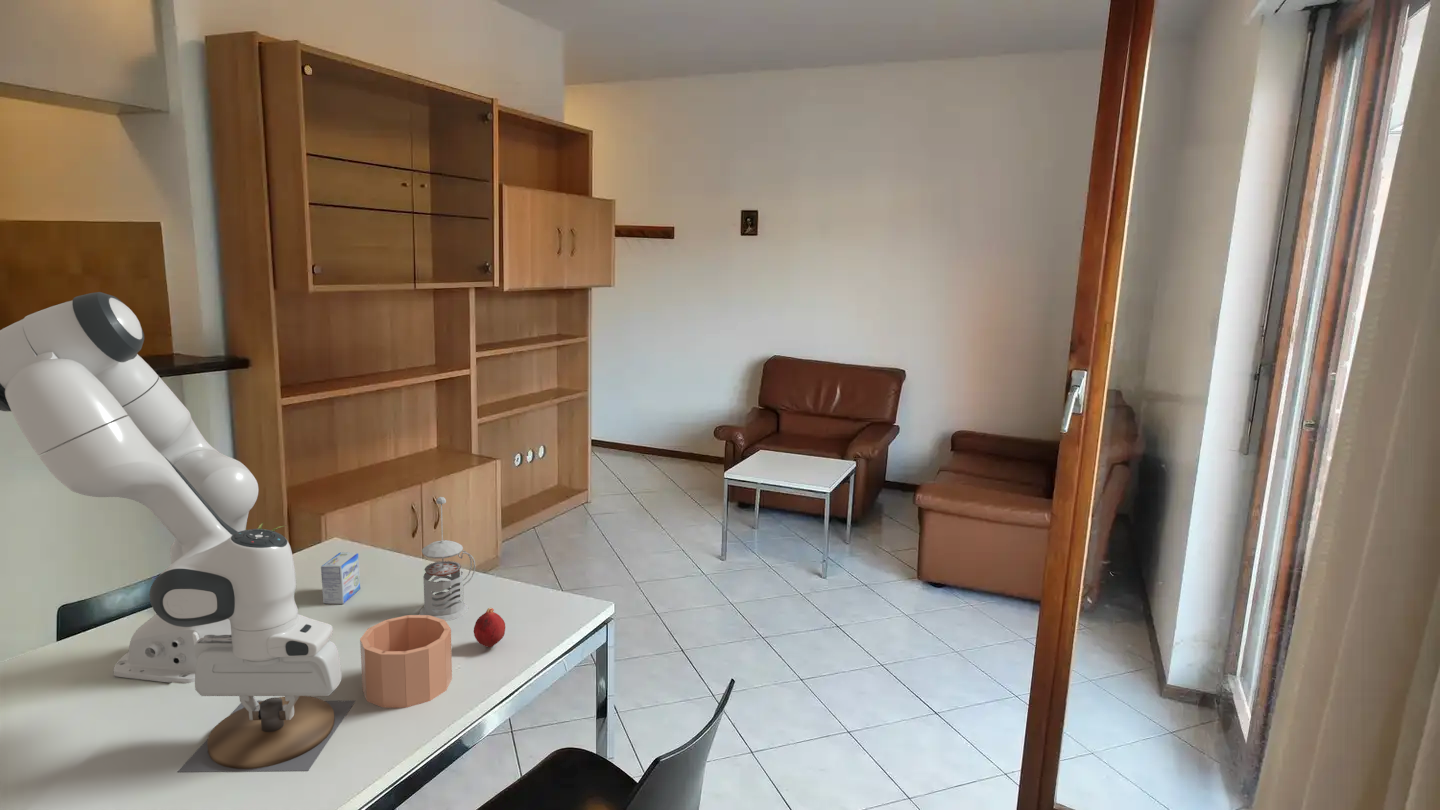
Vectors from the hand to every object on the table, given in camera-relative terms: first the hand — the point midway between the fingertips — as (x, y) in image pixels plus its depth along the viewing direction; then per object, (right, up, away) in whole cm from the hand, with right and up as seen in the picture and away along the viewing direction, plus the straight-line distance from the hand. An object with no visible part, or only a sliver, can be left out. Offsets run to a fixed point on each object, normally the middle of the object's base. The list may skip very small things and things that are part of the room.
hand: (272, 718), depth 121 cm
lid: (0, -3, +1) cm, 3 cm away
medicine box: (-13, +7, +49) cm, 51 cm away
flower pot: (+15, -1, +16) cm, 21 cm away
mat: (0, -3, +1) cm, 3 cm away
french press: (+12, +5, +45) cm, 47 cm away
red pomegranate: (+25, +1, +30) cm, 39 cm away
